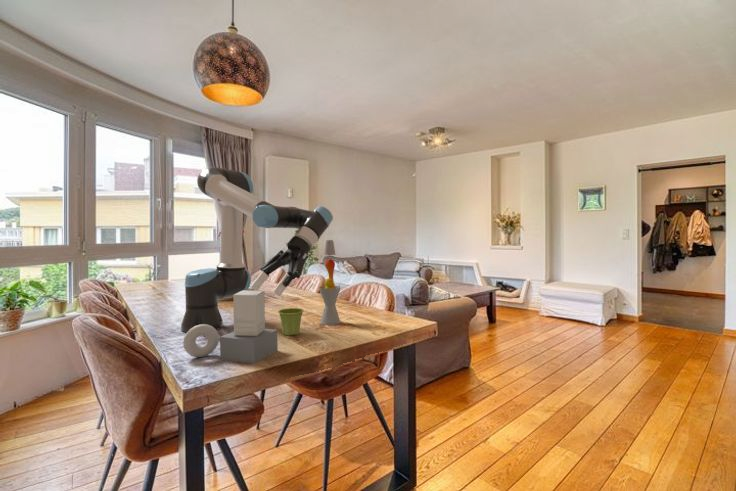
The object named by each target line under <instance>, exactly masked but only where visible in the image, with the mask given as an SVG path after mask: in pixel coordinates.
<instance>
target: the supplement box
mask: <svg viewBox="0 0 736 491" xmlns="http://www.w3.org/2000/svg"><path fill="white" fill-rule="evenodd" d="M265 294H266V293H265V290H258V291H255V290H249V289H248V290H243V291H240V292H238V293H236V294H234V295H233V297H232V298H233V301H232V302H233V332H234V335H239V336H257V335H259V334H260V333H261V332H262V331H264V330H265V329H266V327H265V326H266V317H265V315H266V312H265V311H266V310H265V308H266V307H265V303H266V301H265V298H266V297H265Z"/></svg>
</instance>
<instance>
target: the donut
mask: <svg viewBox="0 0 736 491" xmlns="http://www.w3.org/2000/svg"><path fill="white" fill-rule="evenodd" d="M185 333H186V332H185ZM202 336H204V337H206V338H207V339H206V340H207V341H206V342H205V343H204V344H202V345H198V344H197V343H196V341H197V339H198V338H199V337H202ZM219 343H220V336H219V332H218V331H217V330H216V329H215V328H213V327H212V326H210V325H207V324H200V325H197V326H194V327H193V328H191V329H190V330H189V331H188V332H187V333H186V334H185V336H184V337H183V341H182V344H183V349H184V350H185V352H186V353H187V354H189V356H191V357H194V358H203V357H207V356H208V355H210V354H212V353H213V352H214V351H215V350H216V348H217V347H218V344H219Z"/></svg>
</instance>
